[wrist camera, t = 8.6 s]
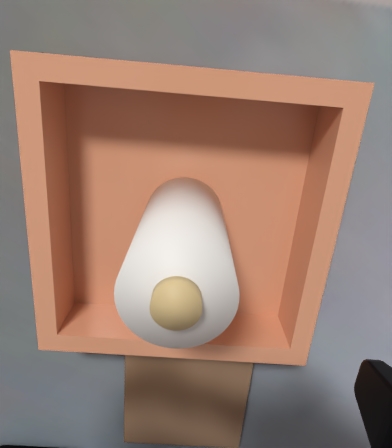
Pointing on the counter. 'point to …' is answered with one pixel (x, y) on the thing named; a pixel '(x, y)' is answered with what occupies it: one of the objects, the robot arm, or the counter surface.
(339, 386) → the counter surface
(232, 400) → the brown flat square pad
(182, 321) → the white cylinder with knob
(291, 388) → the counter surface
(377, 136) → the counter surface
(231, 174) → the salmon square tray
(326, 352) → the counter surface
